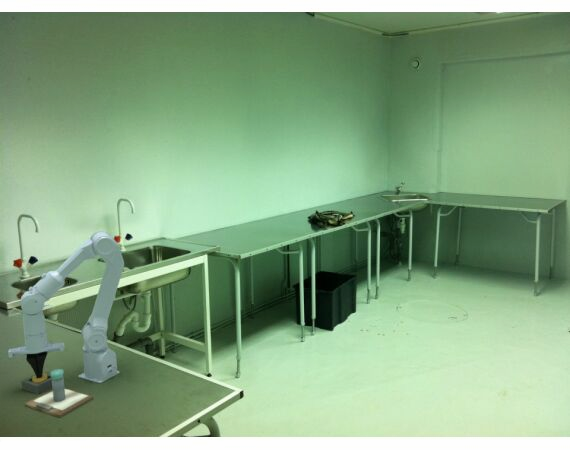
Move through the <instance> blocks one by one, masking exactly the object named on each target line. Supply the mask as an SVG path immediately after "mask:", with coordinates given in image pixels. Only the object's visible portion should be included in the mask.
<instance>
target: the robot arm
mask: <svg viewBox="0 0 570 450" xmlns="http://www.w3.org/2000/svg"><path fill="white" fill-rule="evenodd" d="M96 255H98V256H99V257H100V258H101V259H102V260H103V262H104V263H105V269H104V272H103V275H102V279H101V281H100V286H99V288H98V293H97V295H96V299H95V303H94V305H93V309H92V312H91V314H90V316H89V317H88V320H87V321H86V323H85V325H83V327H82V329H81V332H80V333H81V337H82V339H83V341H84V344H83V346H82V359H83V360H82V361H83V370H84V371H83V372H82V373H80V374H79V375H77V376H78V379H82V380H86V381H90V382H93V383H97V384H102V383H104V382H105V381H108V380H109V379H111V378H113V377H114V376H117V375H118V374H120V371H119V370H118V364H117V354H116V352H115V351H114V350H112V349H111V348H109V346H108V336H107V331H108V324H109V323H108V322H109V321H108V320H109V317H110V313H111V310H112V306H113V305H114V300H115V298H116V293H117V291H118V287H119V284H120V280H121V277H122V274H123V271H124V267H125V261H124V258H123V257H124V256H123V255H122V252H121V249H120V245H119V244H118V242H117V241H116V240H115V239H114V238H113V237H112V236H111V235H110V234H109V233H108V232H106V231H104V230H100V231H99V230H98V231H95V232H94V233H93V234H92V235H91V236H90V237H88V238H87V239H85V241H83V242H82V243H81V244H80V245H79V246H78V247H77V248H76V250H74V251H73V252H72V254H71V255H69V256H68V258H66V260H65V261H64V262H63V263H62V264H61V265H60V266H59V267H58V268H57V269H56V270H50V271H48V272H47V273H45V272H44V273H42V275H41V278H40V280H38V281H37V282H36V283H35V284H34V285H33V286H29V287H28V290H27V291H25V292H24V293H23V294H22V295H21V298H20V301H19V303H20V307H21V311H22V315H21V316H22V327H23V328H22V329H23V334H24V335H23V337H24V346H19V347H15V348H9V349H8V351H7V353H8V359H10V358H14V357H20V356H26V359H25V360H26V362H27V363H28V364H29V366H30V367H31V368H32V370H33V372H34V375H36V378H42V376H43V372H44V366H45V361H46V359H47V356H48V353H53V352H64V351H65V343H64V342H48V338H47V337H48V335H47V328H46V327H47V326H46V319H45V318H46V317H45V314H44V309H45V308H44V307H45V303H46V302H48V301H50V299H52V297H54V295H56V294H57V293H58V291H60V290H61V289H62V287H64V286H65V284H66V283H65V279H66V278H67V277H68V276H69V275H70V274H72V273H73V272H74V271H75V270H76V269H77V268H78V267H79V266H80V265H81V264H83V263H84V261H86V260H92V259H97V256H96Z"/></svg>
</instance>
